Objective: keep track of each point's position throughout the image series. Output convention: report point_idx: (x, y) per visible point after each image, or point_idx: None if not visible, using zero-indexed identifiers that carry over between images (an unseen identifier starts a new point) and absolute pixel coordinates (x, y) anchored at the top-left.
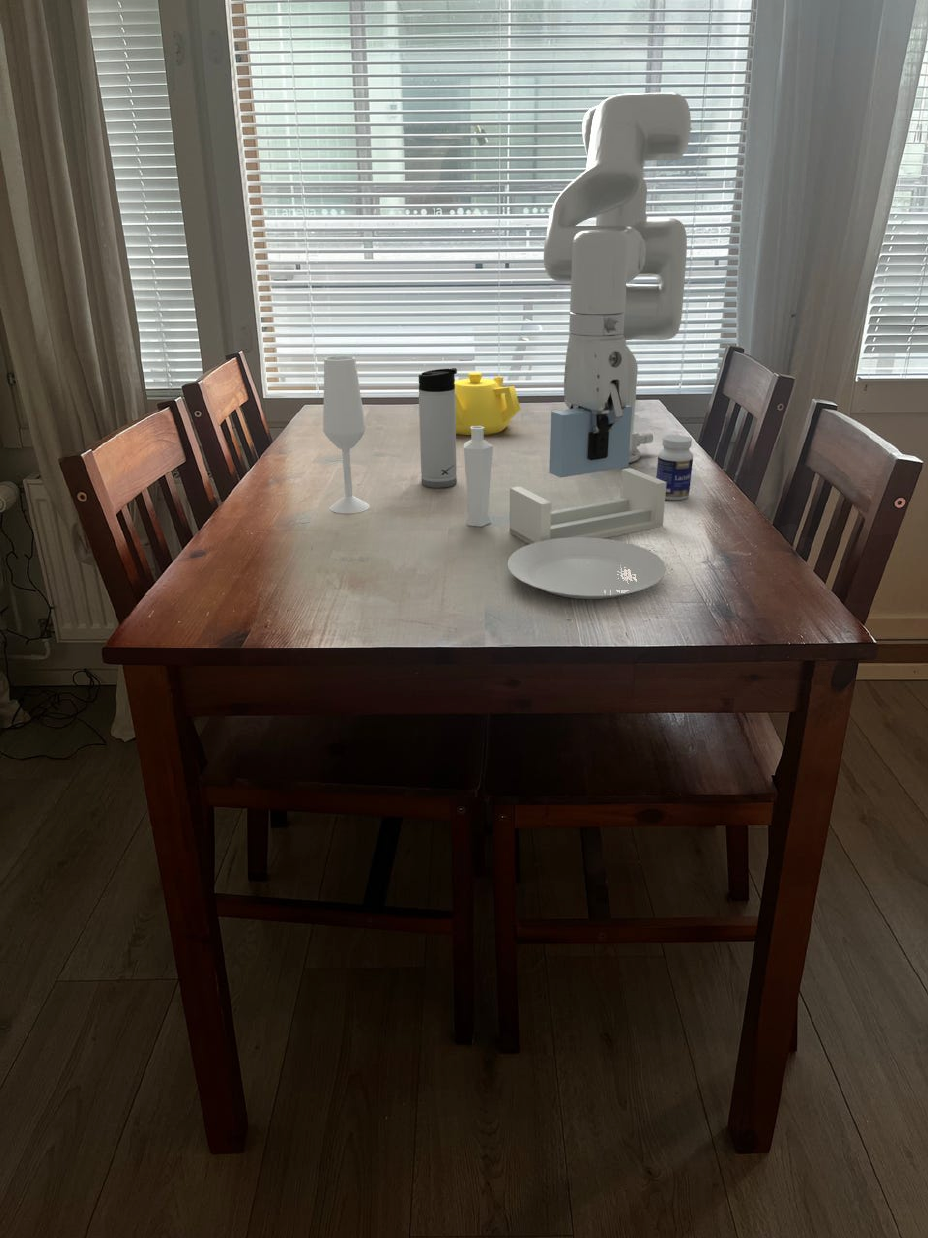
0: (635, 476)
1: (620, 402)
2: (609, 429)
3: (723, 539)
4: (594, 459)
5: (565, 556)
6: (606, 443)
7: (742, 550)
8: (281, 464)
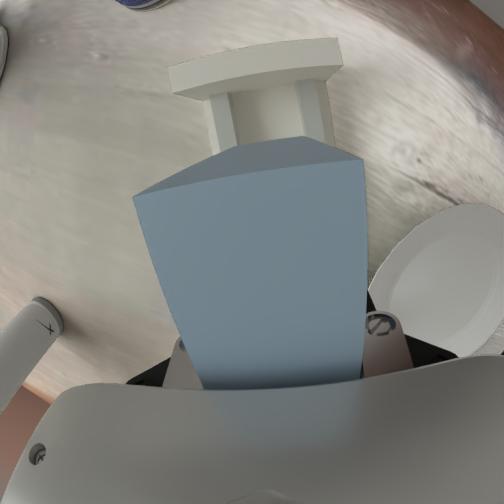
0: (236, 78)
1: (454, 385)
2: (394, 327)
3: (410, 21)
4: None
5: (387, 296)
6: (368, 295)
7: (456, 36)
8: (31, 387)
